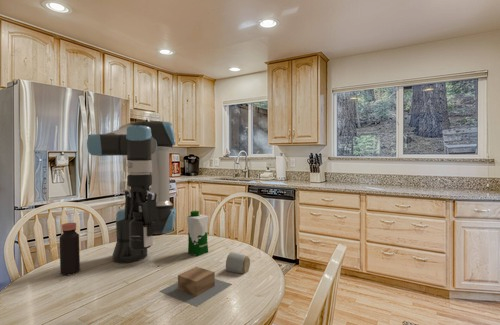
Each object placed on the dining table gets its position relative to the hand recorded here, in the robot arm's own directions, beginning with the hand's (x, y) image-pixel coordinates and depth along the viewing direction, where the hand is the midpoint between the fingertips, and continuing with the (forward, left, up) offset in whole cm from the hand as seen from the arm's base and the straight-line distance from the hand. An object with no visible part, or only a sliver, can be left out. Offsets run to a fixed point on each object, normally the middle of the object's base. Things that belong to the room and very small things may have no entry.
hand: (141, 243), depth 92 cm
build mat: (+10, +15, -19) cm, 26 cm away
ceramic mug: (+13, +37, -19) cm, 43 cm away
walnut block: (+10, +15, -18) cm, 25 cm away
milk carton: (-17, +44, -19) cm, 51 cm away
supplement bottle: (0, 0, -1) cm, 1 cm away
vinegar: (-45, -2, -19) cm, 49 cm away
